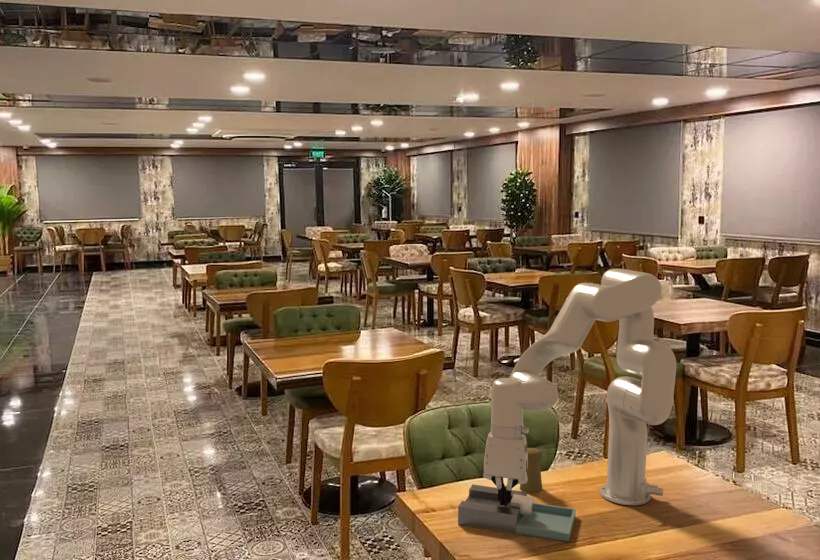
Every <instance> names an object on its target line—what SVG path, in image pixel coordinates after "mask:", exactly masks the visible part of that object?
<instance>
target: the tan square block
mask: <svg viewBox="0 0 820 560" xmlns="http://www.w3.org/2000/svg"><path fill="white" fill-rule="evenodd" d="M534 503H535V497H533V496H528V495H527V496H523V495H518V494H513V497H512V500H511V503H510V508H514V509H520V512H519V514H524V515H529V516H531V514H532V510H533V507H534Z"/></svg>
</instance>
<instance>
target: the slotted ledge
mask: <svg viewBox="0 0 820 560" xmlns="http://www.w3.org/2000/svg"><path fill="white" fill-rule="evenodd" d="M513 494H518V495H523V496H528V493H527V492H523V491H521V490H514V489H512V490H511V500H512V497H513ZM510 503H511V502H508V504H507V506H504V504H503V505H502V506H501V505H500V500H498V489H497V487H494V486H486V485H479V484H472V485H471V486H470V487H469V489H468V496H467V498H466V499H465V500H461V501H460V503H459V505H458V506H457V507H458V508H457V509H458V510H457V524H459V525H458V526H465V527H470V528H477V529H482V530H483V529H485V530H490V531H496V532H501V533H502V532H503V533H507V534H508V533H509V534H513V535H517V534H516V528H517V524H518V521H519V519H520V517H521V514H519V512H520V509H514V508H510Z"/></svg>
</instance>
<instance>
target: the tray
mask: <svg viewBox="0 0 820 560" xmlns="http://www.w3.org/2000/svg"><path fill="white" fill-rule="evenodd" d="M576 511H577V509H576V508H574V507H573V508H572V507H566V506H558V505H553V504H546V503H538V502H534V507H533V510H532V514H531V516H529V515H524V514H521V517H520V519H519V521H518V524H517V528H516V534H515V535H519V536H520V535H521V536H525V537H526V536H527V537H532V538H533V537H534V538H538V539H546V540H552V541H558V542H563V543H570V539H571V536H572V531H573V527H574V525H575V519H576V515H577V514H576Z"/></svg>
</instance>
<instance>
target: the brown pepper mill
mask: <svg viewBox="0 0 820 560" xmlns="http://www.w3.org/2000/svg"><path fill="white" fill-rule="evenodd" d="M527 452H528V470H527V473H526V474H527V479H528V481H527V483H526V484H519V491H523V492H527V494H530V495H532V494H540V493H541V492H542V491H543V482H542V471H541V462H542V460H543V454H542V451H541V450H540V449H538V448H536V447H534V448H533V447H527Z"/></svg>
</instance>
